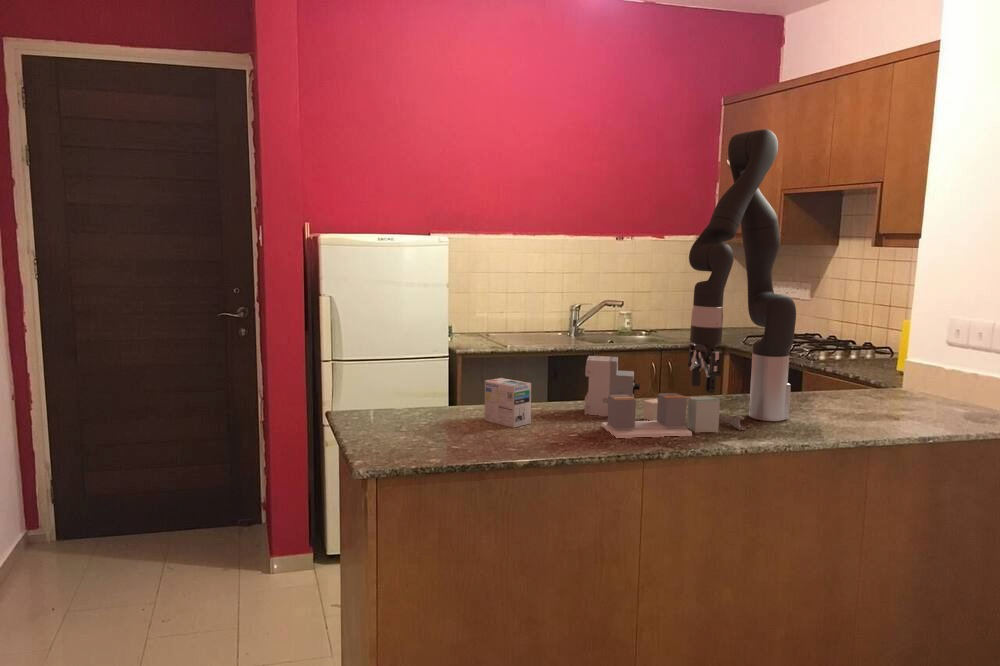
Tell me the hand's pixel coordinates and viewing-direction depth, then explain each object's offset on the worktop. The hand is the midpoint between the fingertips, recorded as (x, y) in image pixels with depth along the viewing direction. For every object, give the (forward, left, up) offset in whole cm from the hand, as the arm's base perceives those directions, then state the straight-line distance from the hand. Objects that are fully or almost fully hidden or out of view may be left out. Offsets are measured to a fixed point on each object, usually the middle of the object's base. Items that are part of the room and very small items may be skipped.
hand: (702, 389), depth 190 cm
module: (0, 0, -11) cm, 10 cm away
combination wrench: (-8, -7, -11) cm, 15 cm away
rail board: (+14, -1, -10) cm, 18 cm away
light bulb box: (+47, -14, -11) cm, 50 cm away
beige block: (+8, -12, -11) cm, 18 cm away
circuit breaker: (+17, -20, -11) cm, 28 cm away
